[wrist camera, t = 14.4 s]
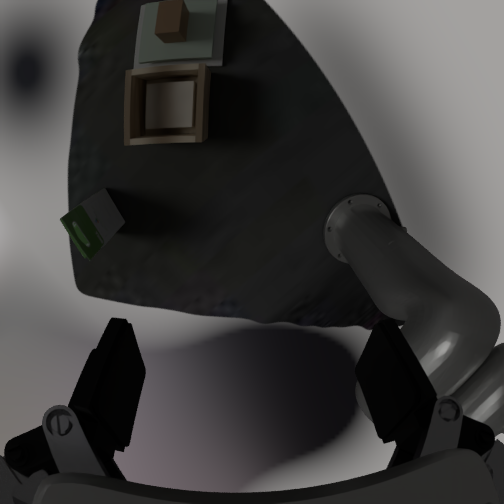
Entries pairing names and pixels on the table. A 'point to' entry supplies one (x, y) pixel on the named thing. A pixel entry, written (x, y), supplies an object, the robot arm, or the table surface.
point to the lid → (178, 30)
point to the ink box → (93, 223)
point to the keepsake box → (167, 104)
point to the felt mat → (215, 60)
